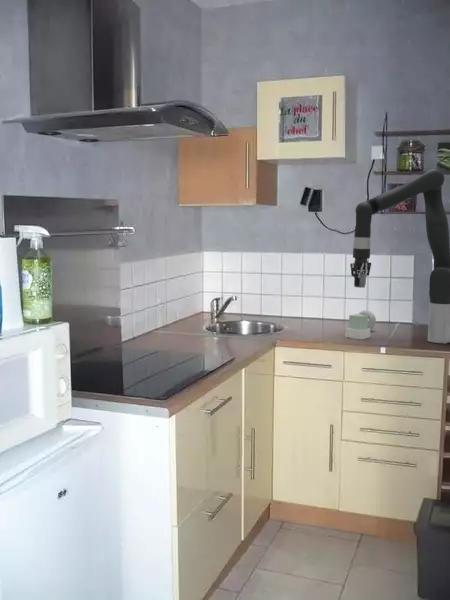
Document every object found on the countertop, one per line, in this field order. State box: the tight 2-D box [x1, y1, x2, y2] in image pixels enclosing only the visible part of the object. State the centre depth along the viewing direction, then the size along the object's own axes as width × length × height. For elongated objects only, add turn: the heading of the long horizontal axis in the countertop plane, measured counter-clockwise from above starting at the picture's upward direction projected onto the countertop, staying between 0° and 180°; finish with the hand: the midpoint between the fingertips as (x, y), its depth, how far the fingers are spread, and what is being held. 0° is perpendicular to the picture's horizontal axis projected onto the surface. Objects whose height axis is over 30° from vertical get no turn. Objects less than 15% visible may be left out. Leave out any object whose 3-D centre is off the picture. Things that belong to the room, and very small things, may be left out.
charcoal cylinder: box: [354, 273, 366, 289], centre depth 292 cm, size 5×5×6 cm
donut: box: [358, 309, 377, 330], centre depth 312 cm, size 10×4×10 cm, turn 46°
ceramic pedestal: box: [344, 327, 372, 340], centre depth 295 cm, size 8×8×4 cm
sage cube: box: [348, 313, 369, 330], centre depth 294 cm, size 6×6×6 cm
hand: (359, 285), depth 292 cm, fingers closed on charcoal cylinder, 4 cm apart
